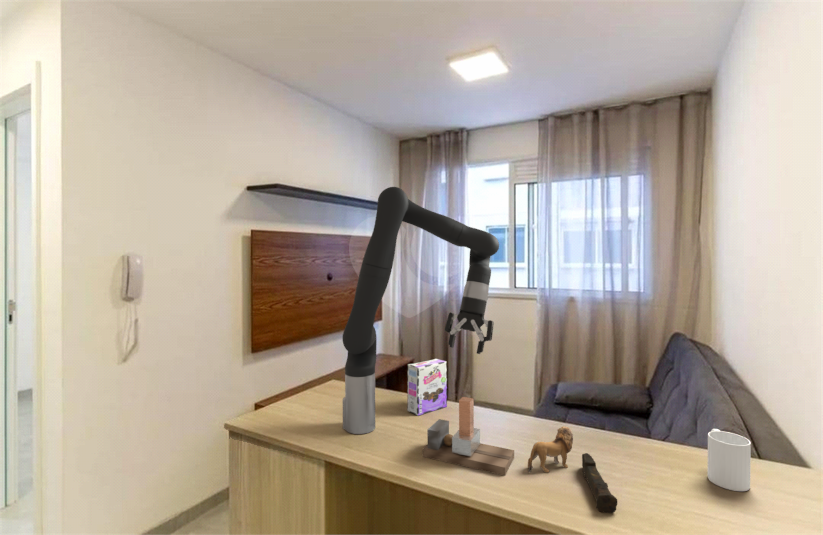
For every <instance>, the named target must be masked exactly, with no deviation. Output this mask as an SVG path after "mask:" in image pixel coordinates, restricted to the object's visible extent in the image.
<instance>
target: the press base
mask: <svg viewBox="0 0 823 535" xmlns="http://www.w3.org/2000/svg"><path fill="white" fill-rule="evenodd" d="M447 434H450V421H449V420H445V419H441V418H439V419H438V420H436V421H435V422H434V423H433V424H432V425H430V426H429V428H428V429H427V444H426V445H425V446H424V447H423V448H422V457H423V458H427V459H430V460H431V459H432V460H436V461H440V462H444V463H449V464H453V465H456V466H457V465H458V466H462V467H466V468H470V469H475V470H478V471H482V472H483V471H484V472H487V473H492V474H495V475H501V476H505V477H506V475H507V473H508V471H509V470H510V468H511V465H512V464H513V462H514V459H515V449H511V448H510V449H509V448H507V447H501V446H495V445H490V444H487V443H481V442H480V445H479V446H478V447H477V449H476V450H475V451H474V453H473V454H472V456H471V457H470V456H465V455H461V454H456V453H452V446H447V445H446V444H445V443H444V437H445V435H447Z"/></svg>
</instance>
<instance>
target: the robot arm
mask: <svg viewBox="0 0 823 535" xmlns="http://www.w3.org/2000/svg"><path fill="white" fill-rule="evenodd" d="M402 222H403V223H406V224H408V225H412V226H415V227H417V228H419V229H421V230H423V231H425V232H428V233H429V234H432V235H433V236H435V237H437V238H439V239H441V240H443V241H445V242H448V243H449V244H452V245H454V246H456V247H463V248H467V249H469V260H468V261H469V262H468V264H469V267H468V271H467V275H466V276H467V277H466V281H465V284H464V289H463V293H462V297H461V302H460V303H461V304H460V308H459V313H458V314H455V313H453V312H449V313H448V314H447V315H448V316H447V320H446V324H445V328H444V331H445V332H447V333H448V334H449V338H448V346H449V348H452V349H453V348H454V347H455V342H456V338H457V337H456V336H457V335H456V334H458V333H459V332H460V331H462V330H464V331H469V332H474V333H476V335H477V336H478V339H479V341H478V343H477V350H476V354H477V355H481V353H483V352H484V348H485V343H486V342H490V341H492V340H493V332H494V324H495V323H494V321H493V320H489V319H488V320H487V319H485V314H486V308H487V302H488V299H489V288H490V283H491V282H490V281H491V277H492V269H491V267H490V264H491V263H490V262H491V257H492V256H495V255H496V254H497V252H498V251H499V249H500V243H499V242H500V241H499V240H498V238H497V237H496V236H494V234H491V233H490V232H487V231H485V230H481V229H478V228H475V227H473V226H472V227H471V226H468V225H467V224H464V223H462V222H460V221H458V220H457V219H454V218H452V217H449V216H446V215H443V214H441V213H438V212H435V211H432V210H430V209H426V208H424V207H423V206H420V205H418V204H416V203H415V202H414V201H412V200H410V199H409V198H408V195H407V194H406V192H405V191H404V190H403V189H401V188H400V187H398V186H390V187H389V186H388V187H387V188H385V189H383V190H382V191H381V193H379V195H378V198H377V206H376V215H375V221H374V226H373V231H372V234H371V237H370V239H369V241H368V244H367V247H366V249H365V253H364V256H363V259H362V262H361V266H360V270H359V274H358V279H357V283H356V288H355V294H354V299H353V304H352V308H351V312H350V315H349V317H348V319H347V322H346V324H345V327H344V331H343V333H342V343H343V344H342V345H343V346H344V349H345V350H346V351H347V357H346V361H345V365H344V378H345V379H344V380H345V381H344V384H345V385H344V388H345V390H344V391H345V393H344V395H345V396H344V397H343V398H342V429H343V430H344V431H346V432H347V433H349V434H355V435H361V434H362V435H363V434H369V433H371V432H373V431H374V430H375V429H376V363H377V331H376V328H375V327H374V324H375V319H376V314H377V311H378V309H379V306H380V304H381V302H382V299H383V297H384V295H385V293H386V289H387V287H388V284H389V281H390V277H391V275H392V270H393V265H394V260H395V253H396V247H397V241H398V240H397V239H398V234H399V231H400V229H401V225H402ZM456 319H457V320H458V323H457V324H456V325H455V326H454V327H453V324H454V322H455V320H456ZM484 325H485V327H486V336H485V335H484V333H483V331H482V328H481V327H482V326H484ZM452 327H453V328H452Z"/></svg>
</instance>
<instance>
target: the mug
mask: <svg viewBox="0 0 823 535" xmlns="http://www.w3.org/2000/svg"><path fill="white" fill-rule="evenodd" d="M751 445H752V443H751V441H750V439H748V438H747V437H745V436H744V435H743V436H742V435H739V434H737V433H734V432H729V431H723V430H720V429H718V428H712V429H711V431H709V432H708V433H707V478H708V480H709V481H710V482H711V483H712V484H714V485H716V486H718V487H720V488H723V489H725V490H728V491H729V490H730V491H735V492H746V491H749V490H750V489H751V454H752V453H751V452H752V451H751V450H752V449H751V448H752V447H751Z"/></svg>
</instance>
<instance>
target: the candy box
mask: <svg viewBox="0 0 823 535" xmlns="http://www.w3.org/2000/svg"><path fill="white" fill-rule="evenodd" d="M447 363H448V362H447V361H446V360H443V359H439V358H434V359H430V360H424V361H421V362H420V361H419V362H415V363H408V364H407V403H406V404H407V406H406V407H407V409H406V410H407V412H409V413H411V414H413V415H415V416H422V415H425V414H428V413H432V412H434V411H438V410H441V409H444V408H447V407H448V390H447V389H448V387H447V386H448V382H447V381H448V378H447V377H448V375H447V374H448V373H447V372H448V370H447V369H448V367H447V366H448V364H447Z"/></svg>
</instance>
